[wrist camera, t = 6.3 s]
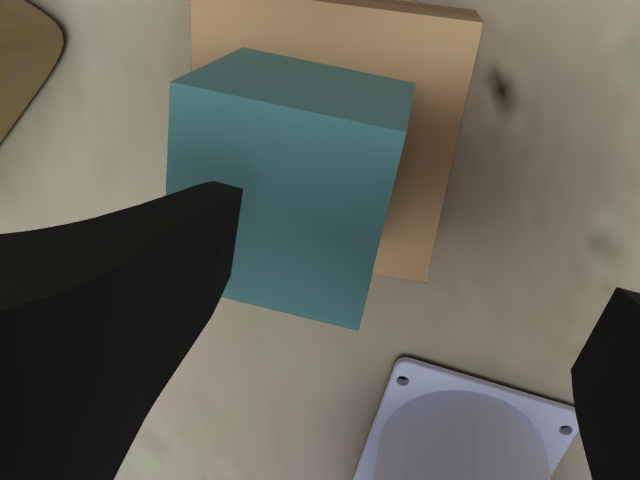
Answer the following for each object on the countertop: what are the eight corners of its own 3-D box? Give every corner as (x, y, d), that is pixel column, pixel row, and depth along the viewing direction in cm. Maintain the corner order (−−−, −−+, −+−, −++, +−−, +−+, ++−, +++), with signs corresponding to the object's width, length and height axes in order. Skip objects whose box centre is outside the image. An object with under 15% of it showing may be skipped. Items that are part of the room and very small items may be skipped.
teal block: (378, 239, 18) (358, 330, 14) (227, 204, 19) (162, 282, 14) (415, 82, 16) (406, 132, 12) (242, 47, 16) (170, 82, 12)
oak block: (428, 230, 22) (425, 283, 19) (229, 196, 23) (191, 240, 20) (475, 9, 18) (483, 23, 15) (236, -21, 19) (190, -16, 16)
